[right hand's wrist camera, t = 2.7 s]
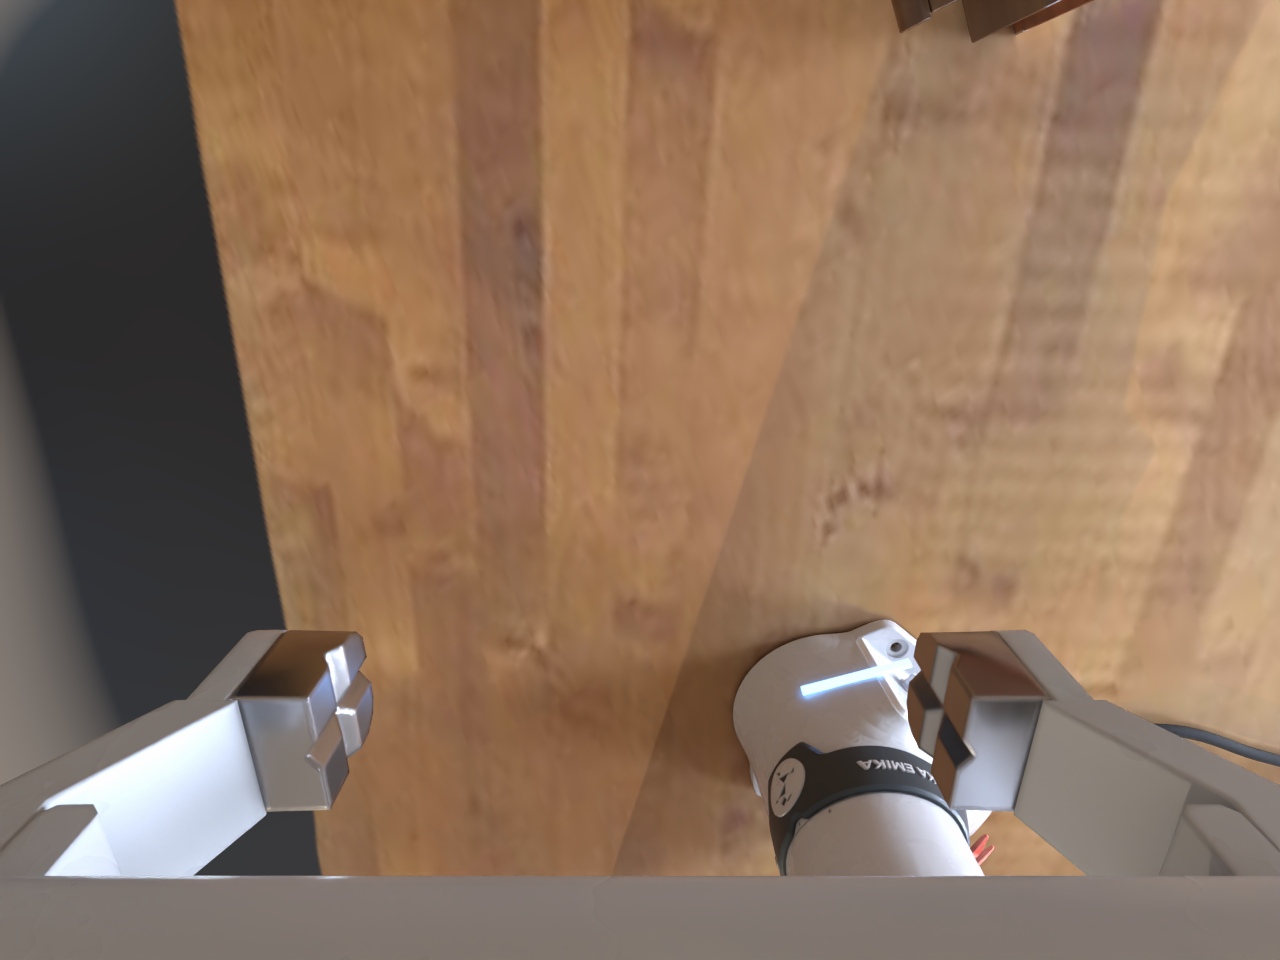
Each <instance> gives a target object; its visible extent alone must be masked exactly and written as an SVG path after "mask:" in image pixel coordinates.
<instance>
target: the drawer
mask: <svg viewBox="0 0 1280 960" xmlns="http://www.w3.org/2000/svg"><path fill="white" fill-rule="evenodd" d="M891 1H892V5H893V9H894V12H895V16H896V20H897V23H898V27H899V31H900V33H903V32H905V31H908V30H910V29H912V28H914V27H916V26H918V25H920V24H922V23H924V22H925V21H927V20H929V19H931V18H932V15H931V14H932V13H934V12H936V11H938V10H940V9H942V8H944V7H946V6H948V5H950V4H952V3H954V2H956V1H958V0H891ZM1060 1H1062V0H962V3H963V7H964V11H965V16H966V20H967V24H968V28H969V32H970V37H971V41H972V43H974V42H976V41H978V40H980V39H982V38H985V37H987V36H989V35H991V34H993V33H995V32H997V31H999V30H1001V29H1003V28H1005V27H1008V26H1010V25H1012V24H1014V23H1016V22H1018V21H1020V20H1022V19H1024V18H1026V17H1028V16H1031V15H1033V14H1035V13H1037V12H1039V11H1041V10H1043V9H1045V8H1047V7H1049V6H1051V5H1053V4H1056V3H1058V2H1060Z"/></svg>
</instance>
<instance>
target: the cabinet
mask: <svg viewBox="0 0 1280 960" xmlns="http://www.w3.org/2000/svg"><path fill="white" fill-rule="evenodd" d="M1091 1H1094V0H1062V1H1060V2H1058V3H1056V4H1053V5H1051V6H1049V7H1047V8H1045V9H1043V10H1041V11H1039V12H1037V13H1035V14H1033V15H1031V16H1028V17H1026V18H1024V19H1022V20H1020V21H1018V22H1016V23H1014V27H1015V31H1016V33H1015V35H1018V34H1020V33H1022V32H1024V31H1027V30H1029V29H1031V28H1033V27H1035V26H1037V25H1040V24H1042V23H1044V22H1046V21H1049V20H1051V19H1053V18H1055V17H1058V16H1060V15H1062V14H1064V13H1067V12H1069V11H1071V10H1073V9H1076V8H1078V7H1080V6H1082V5H1085V4H1087V3H1089V2H1091Z"/></svg>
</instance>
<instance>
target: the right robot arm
mask: <svg viewBox="0 0 1280 960" xmlns="http://www.w3.org/2000/svg"><path fill="white" fill-rule="evenodd" d="M896 642H898V644H897V645H896V646H893V647H892V646H891V645H892V644H893V643H896ZM366 657H367V656H366V652H365V647H364V642H363V637H361V636H360V635H359V634H358V633H357V632H349V631H301V630H290V631H286V630H255V631H252V632H249V633H247V634H246V635H245V636H244V637H243V638H242V639H241V640H240V641H239V642H238V643H237V644H236V646H235V647H234V648H233V649H232V650H231V651H230V652H229V653H228V654H227V655H226V657H225V658H224V659H223V660H222V661H221V662H220V663H219V664H218V665H217V667H216V668H215V669H214V670H213V671H212V672H211V673H210V674H209V675H208V677H207V678H206V679H205V680H204V681H203V682H202V683H201V684H200V685H199V686H198V688H197V689H196V690H195V691H194V692H193V693H192V694H191V695H190V696H189V698H188V699H187V700H174V701H172V702H170V703H168V704H166V705H164V706H162V707H160V708H158V709H156V710H154V711H152V712H150V713H147V714H145V715H143V716H141V717H139V718H137V719H135V720H133V721H131V722H129V723H127V724H125V725H123V726H121V727H119V728H117V729H115V730H113V731H111V732H109V733H107V734H104V735H102V736H100V737H98V738H96V739H94V740H92V741H90V742H88V743H86V744H84V745H82V746H80V747H78V748H76V749H74V750H72V751H70V752H68V753H66V754H63V755H61V756H59V757H57V758H55V759H53V760H51V761H49V762H47V763H45V764H43V765H41V766H39V767H37V768H35V769H33V770H31V771H29V772H27V773H25V774H23V775H20V776H18V777H16V778H14V779H12V780H10V781H8V782H6V783H4V784H2V785H0V960H1280V785H1278V784H1275V783H1273V782H1271V781H1269V780H1267V779H1265V778H1263V777H1261V776H1259V775H1257V774H1255V773H1253V772H1251V771H1249V770H1247V769H1245V768H1243V767H1241V766H1239V765H1237V764H1235V763H1233V762H1231V761H1228V760H1226V759H1224V758H1222V757H1220V756H1218V755H1216V754H1214V753H1212V752H1210V751H1208V750H1206V749H1204V748H1202V747H1200V746H1198V745H1196V744H1194V743H1192V742H1190V741H1188V740H1186V739H1184V738H1187V739H1192V740H1196V741H1201V742H1204V743H1207V744H1211V745H1214V746H1216V747H1219V748H1222V749H1225V750H1227V751H1230V752H1233V753H1235V754H1238V755H1241V756H1244V757H1247V758H1250V759H1253V760H1256V761H1260V762H1264V763H1267V764H1271V765H1275V766H1279V767H1280V755H1277V754H1273V753H1270V752H1266V751H1262V750H1259V749H1255V748H1252V747H1249V746H1246V745H1243V744H1240V743H1238V742H1235V741H1232V740H1230V739H1227V738H1224V737H1222V736H1219V735H1216V734H1213V733H1210V732H1207V731H1203V730H1199V729H1195V728H1190V727H1185V726H1178V725H1168V724H1153V723H1151V722H1149V721H1147V720H1145V719H1143V718H1141V717H1139V716H1137V715H1135V714H1132V713H1130V712H1128V711H1126V710H1124V709H1122V708H1120V707H1118V706H1116V705H1114V704H1112V703H1110V702H1108V701H1106V700H1093V699H1092V697H1091V696H1090V695H1089V694H1088V693H1087V692H1086V691H1085V690H1084V689H1083V687H1082V686H1081V685H1080V684H1079V683H1078V682H1077V681H1076V680H1075V679H1074V678H1073V676H1072V675H1071V674H1070V673H1069V672H1068V671H1067V670H1066V669H1065V668H1064V666H1063V665H1062V664H1061V663H1060V662H1059V661H1058V660H1057V659H1056V658H1055V657H1054V655H1053V654H1052V653H1051V652H1050V651H1049V650H1048V649H1047V648H1046V647H1045V645H1044V644H1043V643H1042V642H1041V641H1040V640H1039V639H1038V638H1037V637H1036V636H1035V634H1033V633H1031V632H1029V631H1027V630H999V631H983V632H930V633H920V635H919V637H918V639H917V640H916V639H915V638H913V637H912V636H911V635H910V634H908V633H907V632H906V631H905V630H903V629H902V628H901V627H900V626H898V625H897V624H896V623H894V622H893V621H890V620H878V621H874V622H871V623H868V624H866V625H864V626H861V627H859V628H857V629H854V630H852V631H849V632H844V633H835V634H821V635H814V636H809V637H805V638H801V639H798V640H795V641H792V642H789V643H787V644H785V645H783V646H781V647H779V648H777V649H775V650H773V651H772V652H770V653H769V654H767V655H766V656H765V657H763V658H762V659H761V660H760V661H759V662H758V663H757V664H756V665H754V667H753V668H752V669H751V670H750V671H749V672H748V674H747V675H746V676H745V678H744V679H743V681H742V683H741V685H740V687H739V689H738V691H737V694H736V697H735V701H734V706H733V722H734V728H735V731H736V734H737V737H738V739H739V741H740V743H741V745H742V747H743V749H744V751H745V753H746V755H747V757H748V760H749V762H750V776H751V781H752V784H753V787H754V790H755V792H756V794H757V795H759V796H760V797H762V800H763V803H764V806H765V809H766V812H767V814H768V817H769V825H770V832H771V837H772V841H773V846H774V851H775V855H776V856H775V860H776V864H777V867H778V869H779V871H780V875H781V876H193V875H194V874H195V873H197V872H198V871H199V870H200V869H201V868H203V867H204V866H205V865H206V864H207V863H209V862H210V861H211V860H212V859H213V858H215V857H216V856H217V855H218V854H220V853H221V852H222V851H223V850H224V849H226V848H227V847H228V846H229V845H230V844H232V843H233V842H234V841H235V840H236V839H238V838H239V837H240V836H241V835H242V834H244V833H245V832H246V831H247V830H249V829H250V828H251V827H252V826H253V825H254V824H256V823H257V822H258V821H259V820H261V819H262V818H263V817H264V816H265V815H266V811H298V810H330V809H331V807H332V805H333V803H334V801H335V799H336V797H337V795H338V794H339V792H340V790H341V788H342V786H343V784H344V782H345V780H346V778H347V776H348V774H349V767H348V761H347V758H348V757H349V756H351V755H352V754H354V753H355V752H357V751H358V750H360V749H361V748H362V746H363V744H364V742H365V740H366V737H367V735H368V733H369V729H370V725H371V720H372V715H373V692H372V686H371V682H370V681H369V680H368V679H367V678H366V677H365V676H364V675H363V674H362V673H361V672H360V671H359V669H360V667H361V666H362V664H363V662H364V660H365V659H366ZM992 811H1014V815H1015V816H1016V817H1017V818H1018V819H1020V820H1021V821H1022V822H1023V823H1025V824H1026V825H1027V826H1028V827H1029V828H1031V829H1032V830H1033V831H1034V832H1035V833H1037V834H1038V835H1039V836H1040V837H1041V838H1043V839H1044V840H1045V841H1046V842H1047V843H1049V844H1050V845H1051V846H1052V847H1053V848H1055V849H1056V850H1057V851H1058V852H1060V853H1061V854H1062V855H1063V856H1064V857H1066V858H1067V859H1068V860H1069V861H1070V862H1072V863H1073V864H1074V865H1075V866H1076V867H1078V868H1079V869H1080V870H1081V871H1082V872H1084V873H1085V874H1086V875H1087V876H984V874H983V872H982V870H981V868H980V867H979V865H980V864H981V863H982V862H983V861H984V860H985V859H986V858H987V857H988V855H989V854H990V853H991V852H992V851H993V849H994V846H992V845H991V846H989V847H988V848H987V849H985V850H984V851H983V849H984V846H985V844H986V842H987V840H988V838H989V837H988V835H986V834H984V835H983V836H981V837H980V838H979V839H978V841H977V842H976V843H975V844H974V845H973V846H972V847H971V848H970V836H971V835H972V834H973V833H974V832H975V831H976V830H977V829H978V828H979V827H980V826H981V824H982V823H983V822H984V821H985V820H986V819H987V817H988V816H989V815H990V813H991V812H992ZM982 851H983V852H982ZM981 852H982V853H981Z"/></svg>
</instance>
